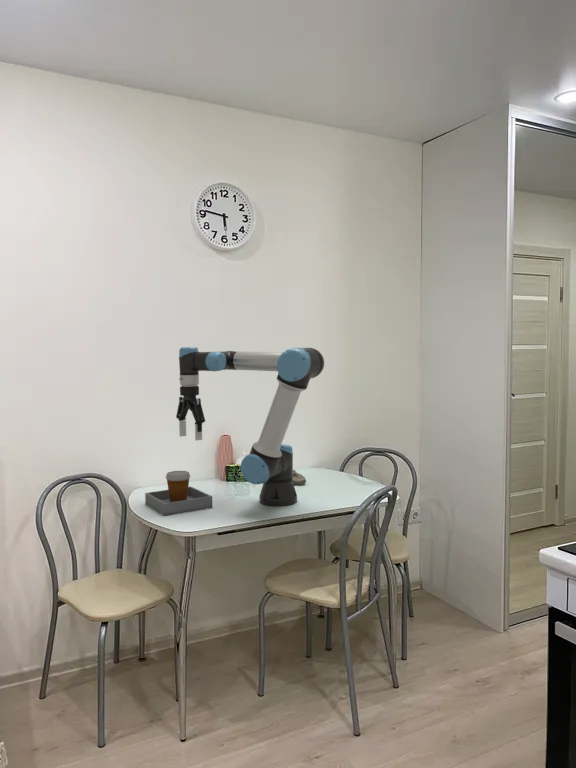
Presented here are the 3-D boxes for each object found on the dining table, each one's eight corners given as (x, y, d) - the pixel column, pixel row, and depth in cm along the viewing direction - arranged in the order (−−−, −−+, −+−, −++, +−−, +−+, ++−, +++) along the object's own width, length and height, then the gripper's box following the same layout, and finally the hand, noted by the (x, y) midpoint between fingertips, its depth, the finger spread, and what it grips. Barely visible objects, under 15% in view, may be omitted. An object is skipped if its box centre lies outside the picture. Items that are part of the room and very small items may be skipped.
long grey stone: (258, 475, 301) (243, 479, 294) (257, 464, 301) (242, 469, 293) (312, 482, 277) (297, 487, 270) (311, 471, 276) (296, 475, 269)
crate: (212, 507, 237) (212, 496, 237) (164, 515, 226) (164, 503, 226) (191, 497, 253) (190, 486, 253) (145, 504, 242) (145, 492, 242)
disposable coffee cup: (170, 507, 233) (170, 476, 232) (162, 502, 242) (162, 472, 241) (194, 504, 238) (193, 474, 237) (186, 499, 246) (185, 469, 245)
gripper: (167, 384, 254) (168, 435, 255) (195, 387, 234) (197, 442, 235) (183, 383, 258) (184, 433, 260) (213, 386, 238) (214, 440, 240)
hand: (190, 438), depth 248 cm, fingers open, 13 cm apart
